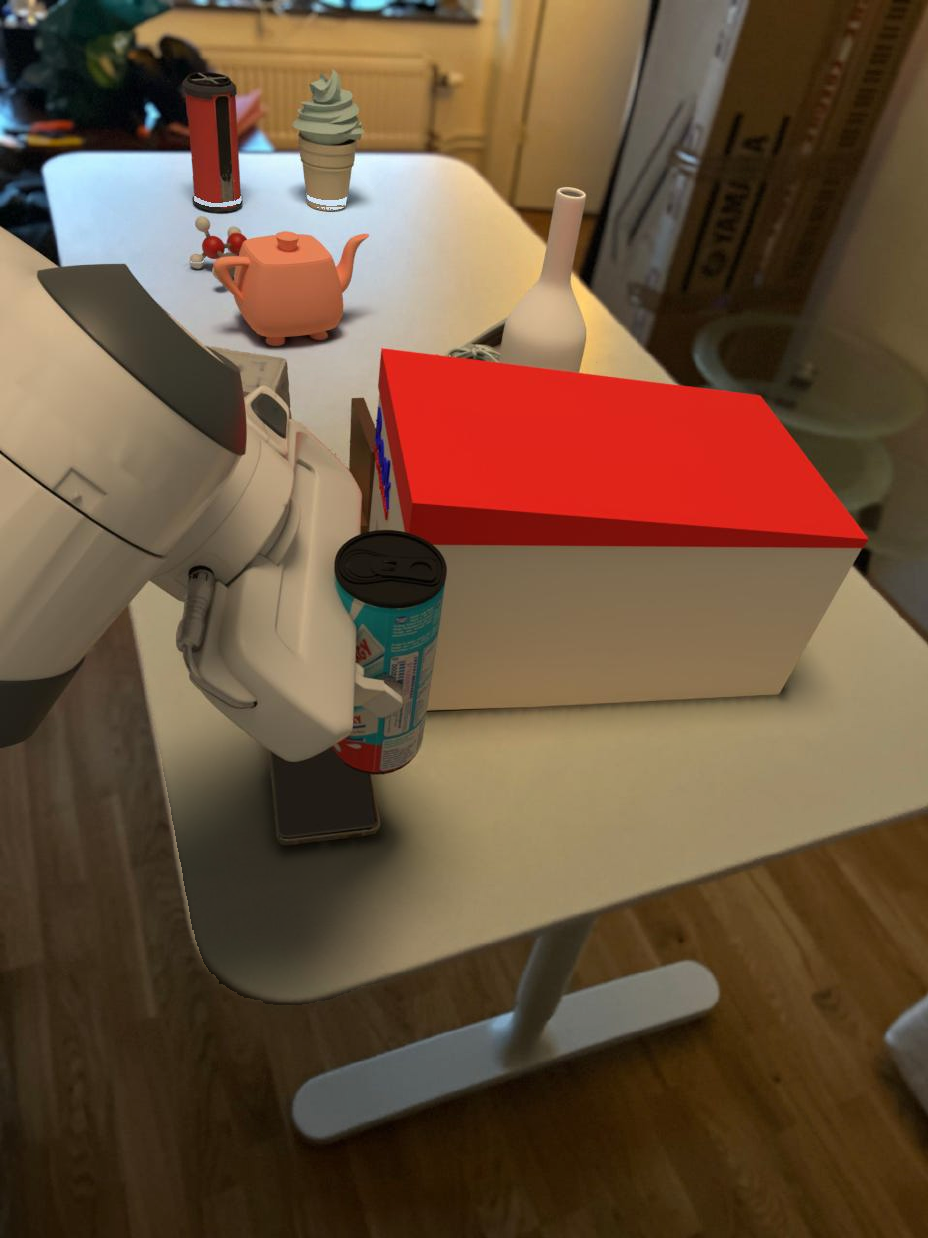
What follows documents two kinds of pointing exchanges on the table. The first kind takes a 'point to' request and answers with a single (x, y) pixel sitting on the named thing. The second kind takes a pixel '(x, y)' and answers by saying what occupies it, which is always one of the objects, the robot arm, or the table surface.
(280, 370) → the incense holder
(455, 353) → the boat shoe
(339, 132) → the ice cream cone
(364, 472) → the shelf
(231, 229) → the molecule model
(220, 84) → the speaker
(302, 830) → the smartphone
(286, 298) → the teapot
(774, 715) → the table surface
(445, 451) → the red-lidded white box
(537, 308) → the bottle
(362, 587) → the beverage can
